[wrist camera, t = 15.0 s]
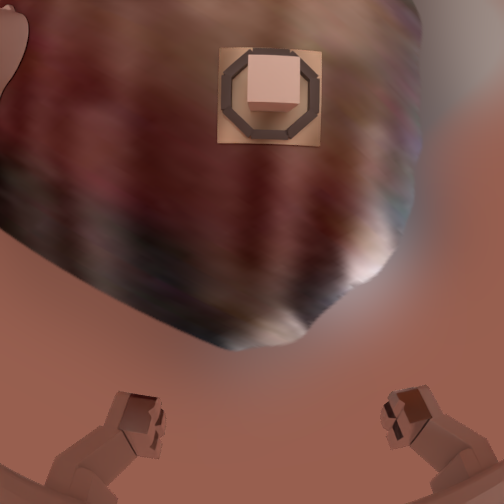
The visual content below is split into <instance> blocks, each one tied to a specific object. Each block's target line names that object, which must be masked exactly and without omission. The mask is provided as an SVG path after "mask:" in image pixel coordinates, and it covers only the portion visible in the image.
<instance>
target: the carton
mask: <svg viewBox="0 0 504 504" xmlns="http://www.w3.org/2000/svg"><path fill="white" fill-rule="evenodd" d="M247 102H248V106H249V109H250V111H264V112H289V111H291V110H292V109H293V108H295V107H296V106H297V105H298V104H300V57H296V56H280V55H248V91H247Z"/></svg>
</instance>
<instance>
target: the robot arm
mask: <svg viewBox="0 0 504 504" xmlns="http://www.w3.org/2000/svg"><path fill="white" fill-rule="evenodd" d="M27 39H28V22H27V19H26V17H25V16H24V15H23V14H21V13H17V12H15V10H14V7H13V6H12V5H6V6H4V7H3V8H0V97H1V94H2V91H3V89H4V88H5V86H6V85H7V83H8V82H9V80H10V79H11V78H12V76H13V75H14V73H15V71H16V69H17V67H18V65H19V63H20V61H21V59H22V56H23V54H24V51H25V48H26V44H27ZM388 400H389V401H388V402H387V403H386V404H385V405H384V406H383V408H382V410H381V423H382V426H383V428H384V429H386V430H387V431H388V433H387V436H386V437H387V440H388V443H389V445H390V448H391V449H397V448H402V447H406V446H410V447H411V448H412V449H413V450H414V451H415V452H416V453H417V454H419V455H420V456H421V457H422V458H423V459H424V460H425V461H426V462H428V463H429V464H430V465H431V466H432V467H433V468H434V469H436V470H437V471H438V472H439V473H438V474H437V475H436V476H435V477H434V478H433V479H432V480H431V482H430V485H431V487H432V491H433V493H434V494H431V495H429V496H426V497H423V498H421V499H418V500H415V501H412V502H409V503H406V504H504V459H503V460H501V461H500V462H498V460H497V458H496V456H495V454H494V452H493V450H492V448H491V446H490V444H489V443H488V440H487V439H486V438H484V437H483V436H481V435H479V434H478V433H476V432H474V431H473V430H471V429H470V428H468V427H466V426H465V425H463V424H462V423H460V422H458V421H457V420H455V419H454V418H452V417H450V416H449V415H447V414H445V415H444V414H443V412H442V411H441V409H440V407H439V405H438V403H437V401H436V399H435V398H434V396H433V394H432V392H431V390H430V388H429V387H428V386H427V385H423V386H419V387H412V388H407V389H402V390H397V391H392V392H391V393H390V394H389V396H388ZM161 405H162V402H161V399H160V398H158V397H151V396H145V395H138V394H132V393H126V392H120V391H119V392H118V393H117V394H116V395H115V398H114V400H113V403H112V405H111V408H110V410H109V413H108V416H107V418H106V421H105V424H104V426H99V427H97V428H96V429H95V430H93V431H92V432H91V433H89V434H88V435H86V436H85V437H83V438H82V439H81V440H79V441H78V442H76V443H75V444H73V445H72V446H71V447H69V448H68V449H66V450H65V451H63V452H62V453H61V454H59V455H58V456H56V457H55V459H54V462H53V464H52V467H51V469H50V472H49V474H48V477H47V480H46V483H45V485H41V484H39V483H37V482H35V481H33V480H31V479H28V478H27V477H25V476H23V475H20V474H19V473H16V472H15V471H13V470H11V469H9V468H7V467H6V466H4V465H2V464H0V504H117V500H118V498H117V497H116V495H115V494H114V493H113V492H112V491H111V490H110V489H108V487H107V486H108V485H109V484H110V483H111V482H112V481H113V480H114V479H115V478H116V477H117V476H118V475H119V474H120V473H121V472H122V471H123V470H124V469H125V468H126V467H127V466H128V465H129V464H130V463H131V462H132V461H133V460H134V459H135V458H136V457H137V456H140V457H147V458H154V459H159V458H160V453H161V448H162V443H161V440H160V438H161V437H162V436H163V435H164V434H165V428H166V416H165V412H164V410H162V409H161Z"/></svg>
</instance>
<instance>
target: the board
mask: <svg viewBox="0 0 504 504" xmlns="http://www.w3.org/2000/svg"><path fill="white" fill-rule="evenodd" d="M248 55H280V56H296V57H300V104H298V105H297V106H296V107H295V108H293V109H292V110H291V111H289V112H264V111H250V109H249V106H248V102H247V91H248ZM321 94H322V52H317V51H307V50H296V49H280V48H219V74H218V125H217V143H260V144H287V145H305V146H319V147H320V132H321Z"/></svg>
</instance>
